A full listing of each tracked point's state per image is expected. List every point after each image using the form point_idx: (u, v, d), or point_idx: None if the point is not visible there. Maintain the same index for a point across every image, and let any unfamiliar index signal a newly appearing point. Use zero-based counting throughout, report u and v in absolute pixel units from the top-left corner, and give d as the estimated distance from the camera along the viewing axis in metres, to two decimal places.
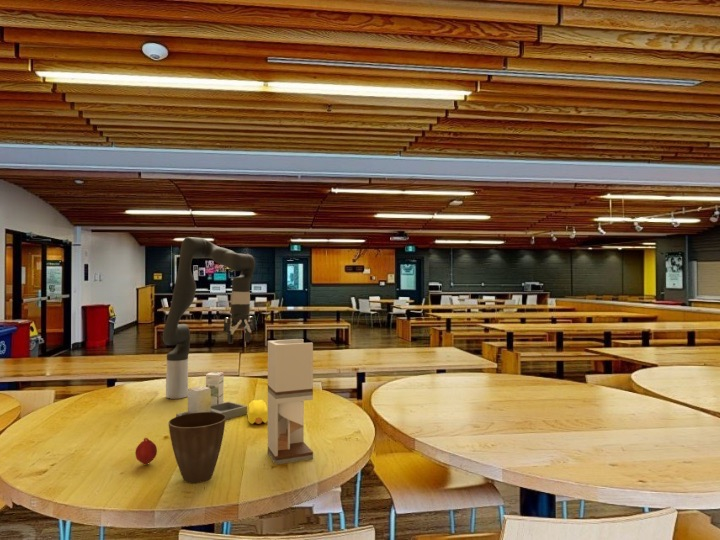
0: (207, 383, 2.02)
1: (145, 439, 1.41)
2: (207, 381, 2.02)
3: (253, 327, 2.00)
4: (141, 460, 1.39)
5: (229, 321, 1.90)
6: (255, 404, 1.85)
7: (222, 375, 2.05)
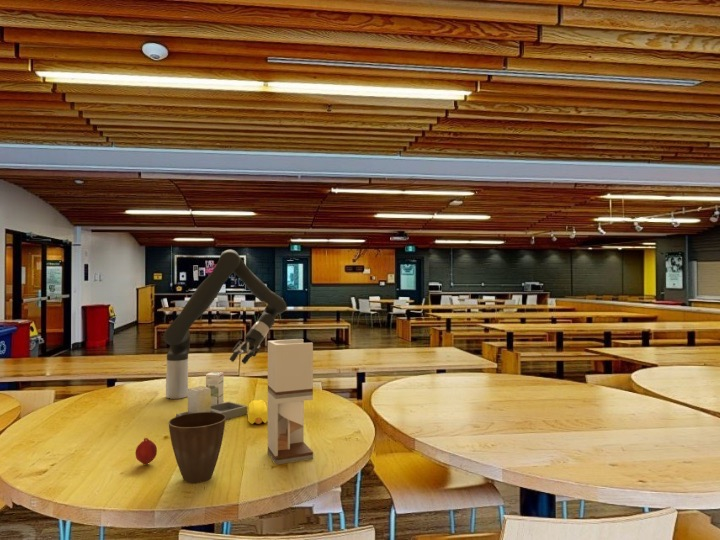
0: (207, 383, 2.02)
1: (145, 439, 1.41)
2: (207, 381, 2.02)
3: None
4: (141, 460, 1.39)
5: None
6: (255, 404, 1.85)
7: (222, 375, 2.05)
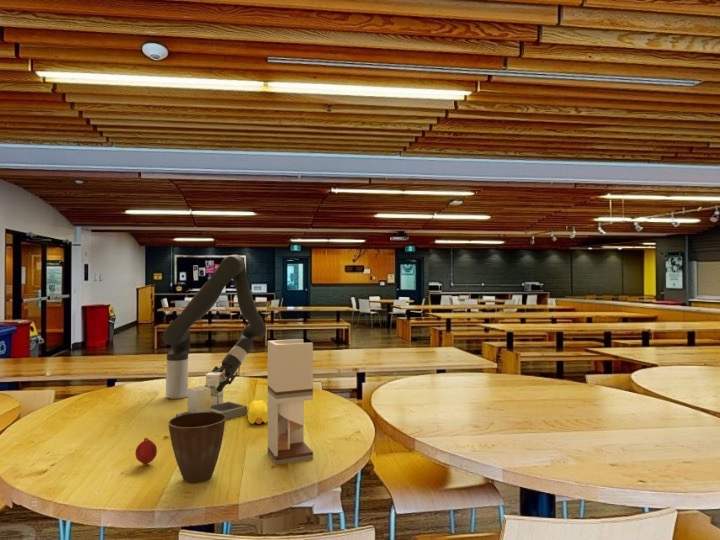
0: (207, 383, 2.02)
1: (145, 439, 1.41)
2: (207, 381, 2.02)
3: None
4: (141, 460, 1.39)
5: None
6: (255, 404, 1.85)
7: None
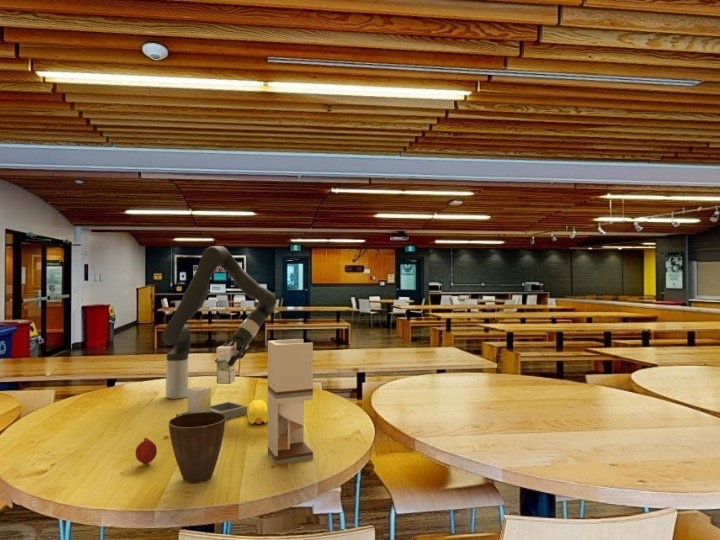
0: (218, 357, 1.91)
1: (145, 439, 1.41)
2: (218, 355, 1.91)
3: None
4: (141, 460, 1.39)
5: None
6: (255, 404, 1.85)
7: (233, 349, 1.95)
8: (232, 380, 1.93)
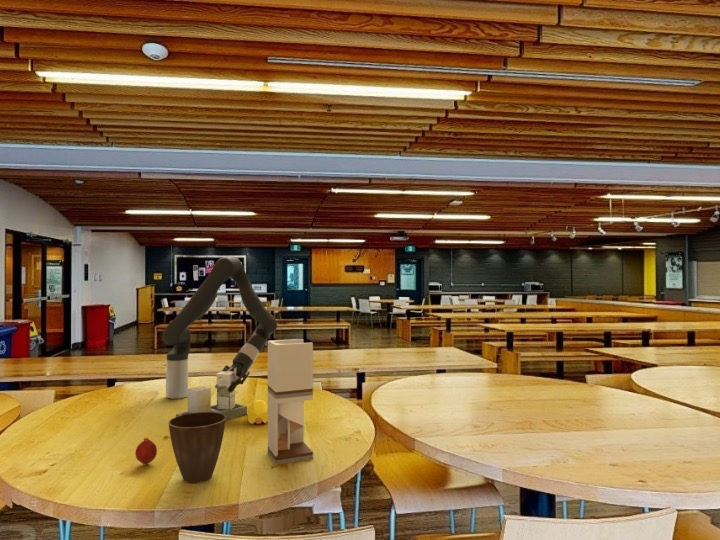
0: (218, 383, 1.91)
1: (145, 439, 1.41)
2: (218, 381, 1.91)
3: None
4: (141, 460, 1.39)
5: None
6: (255, 404, 1.85)
7: (233, 374, 1.94)
8: (232, 406, 1.93)
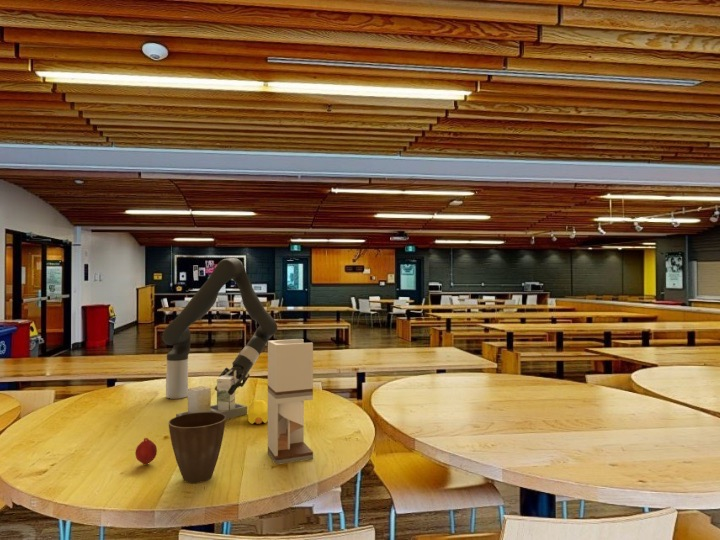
0: (218, 387, 1.91)
1: (145, 439, 1.41)
2: (218, 385, 1.91)
3: None
4: (141, 460, 1.39)
5: None
6: (255, 404, 1.85)
7: None
8: None
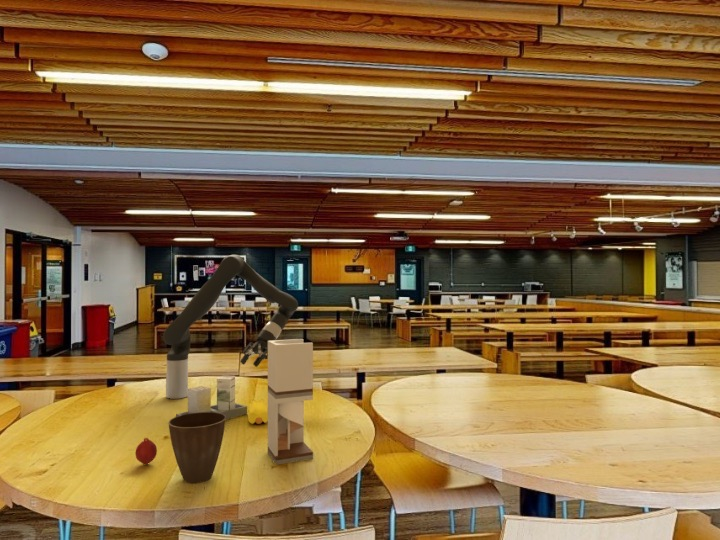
0: (218, 387, 1.91)
1: (145, 439, 1.41)
2: (218, 385, 1.91)
3: None
4: (141, 460, 1.39)
5: None
6: (255, 404, 1.85)
7: (234, 379, 1.94)
8: None
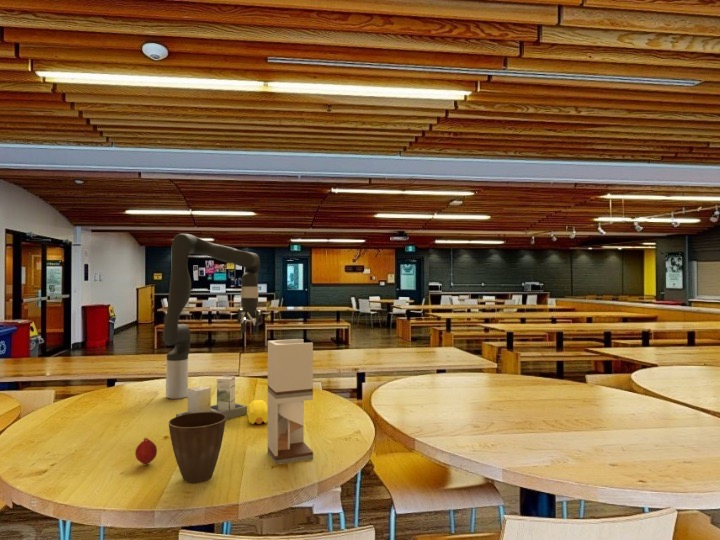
0: (218, 387, 1.91)
1: (145, 439, 1.41)
2: (218, 385, 1.91)
3: None
4: (141, 460, 1.39)
5: None
6: (255, 404, 1.85)
7: (234, 379, 1.94)
8: None
